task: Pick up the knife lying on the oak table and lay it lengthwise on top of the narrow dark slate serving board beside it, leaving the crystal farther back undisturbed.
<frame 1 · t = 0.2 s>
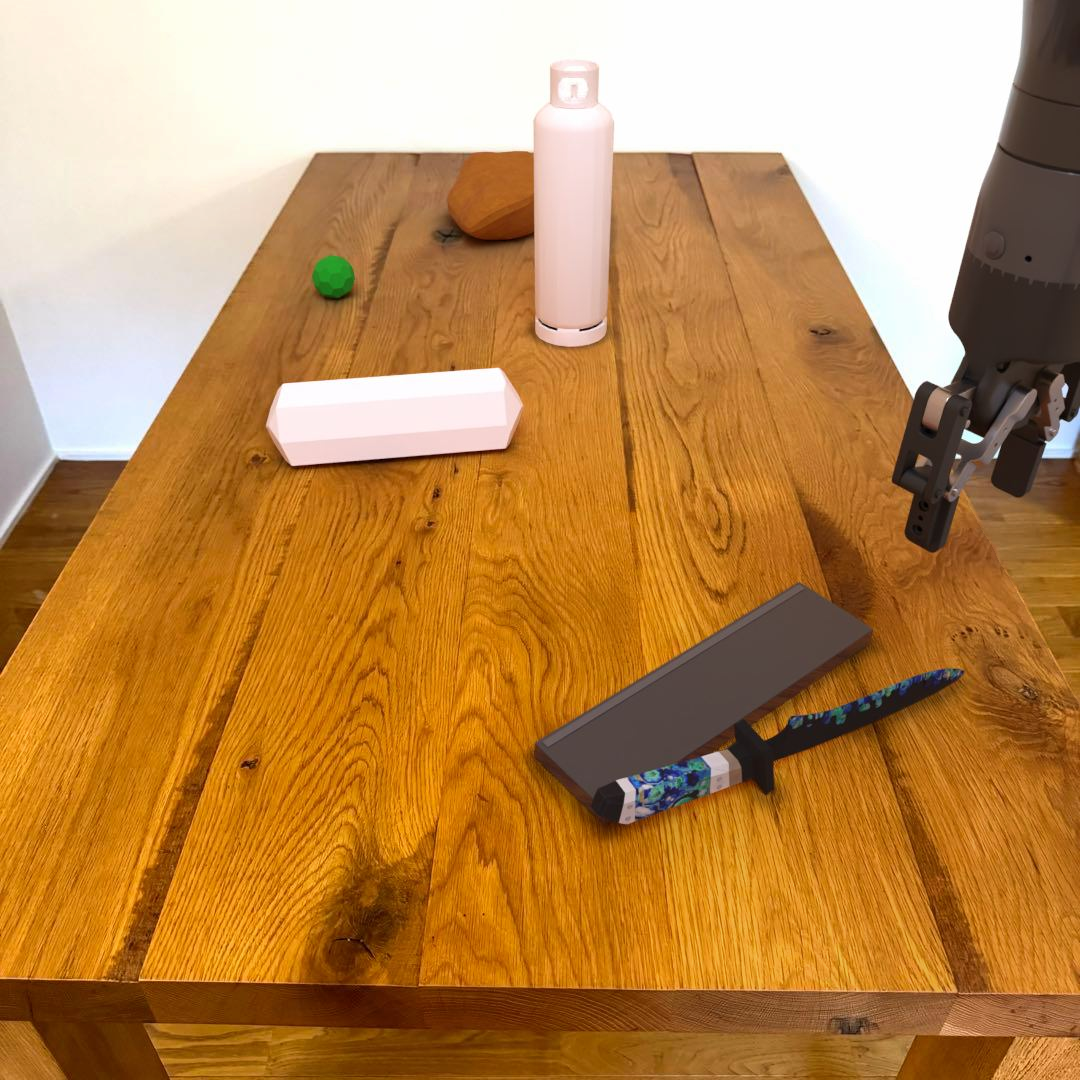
hand: (967, 515, 60), 17 cm above the table, tool pointing down, fingers open, 8 cm apart
bottle: (570, 331, 118), on the table
orange brown rock: (493, 228, 143), on the table
polyhedron: (336, 297, 126), on the table
knife: (793, 764, 68), on the table
slate board: (712, 697, 72), on the table
crystal: (399, 444, 99), on the table
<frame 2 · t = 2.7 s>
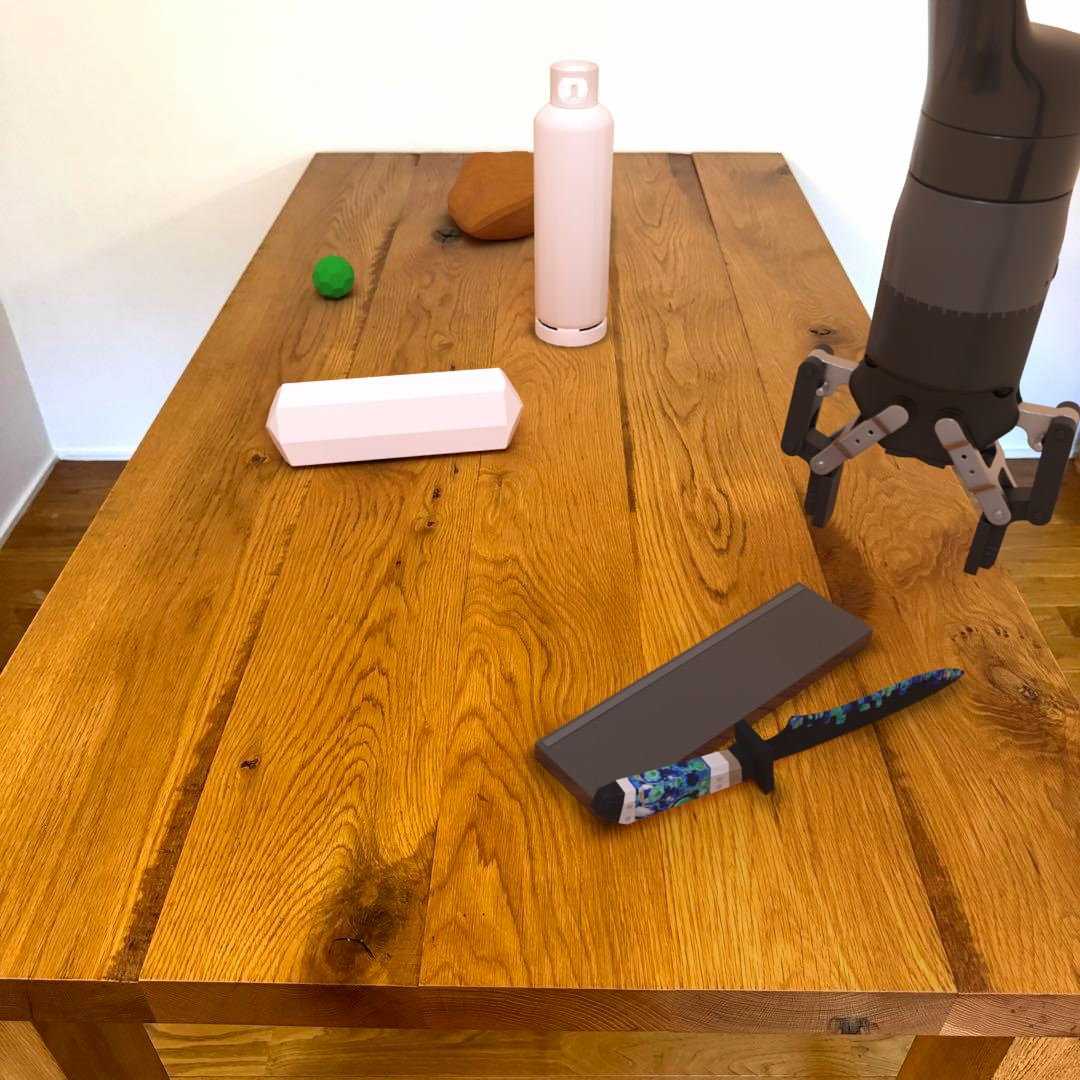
hand: (895, 543, 59), 17 cm above the table, tool pointing down, fingers open, 8 cm apart
nothing on the table moved.
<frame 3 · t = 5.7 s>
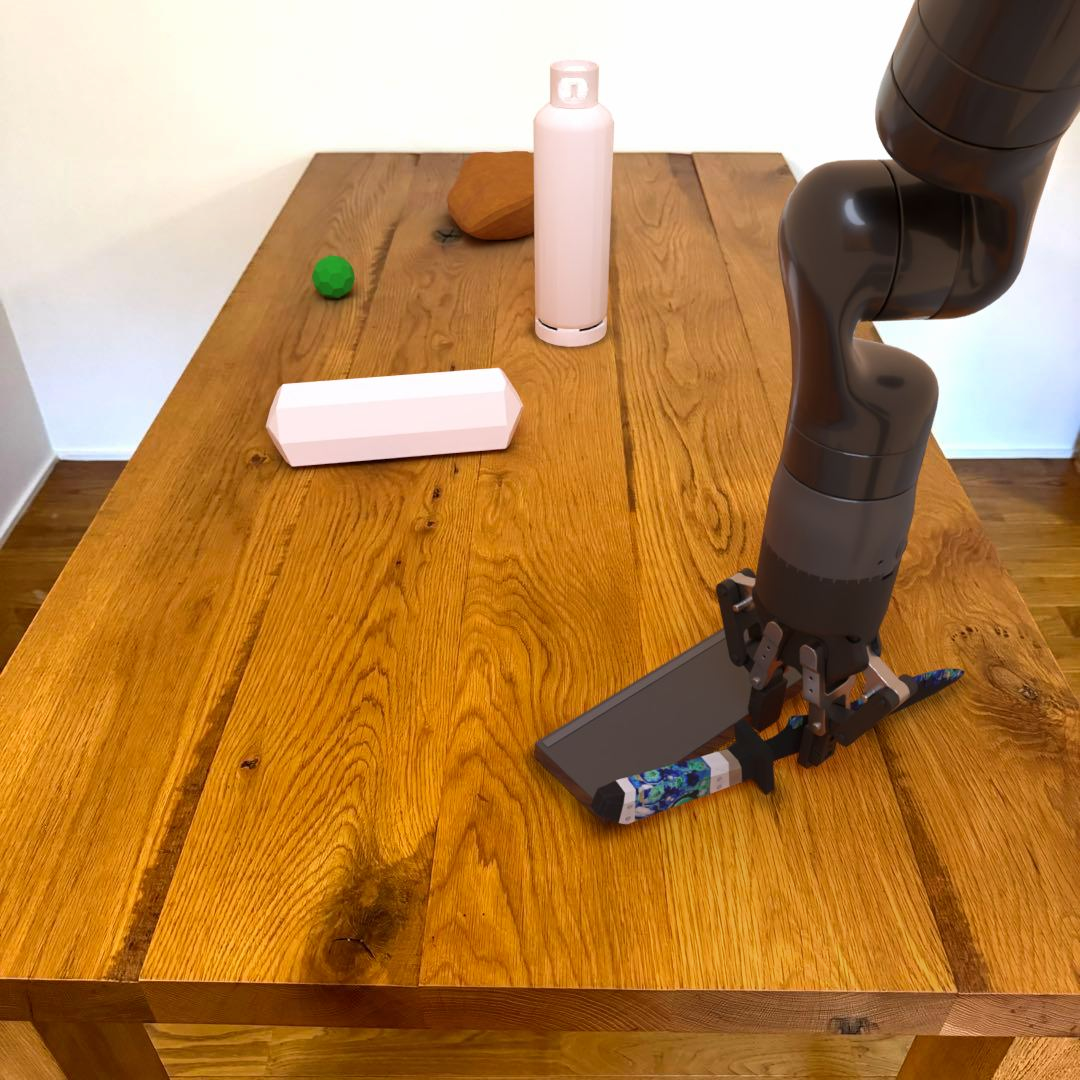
hand: (788, 741, 67), 1 cm above the table, tool pointing down, fingers open, 3 cm apart
nothing on the table moved.
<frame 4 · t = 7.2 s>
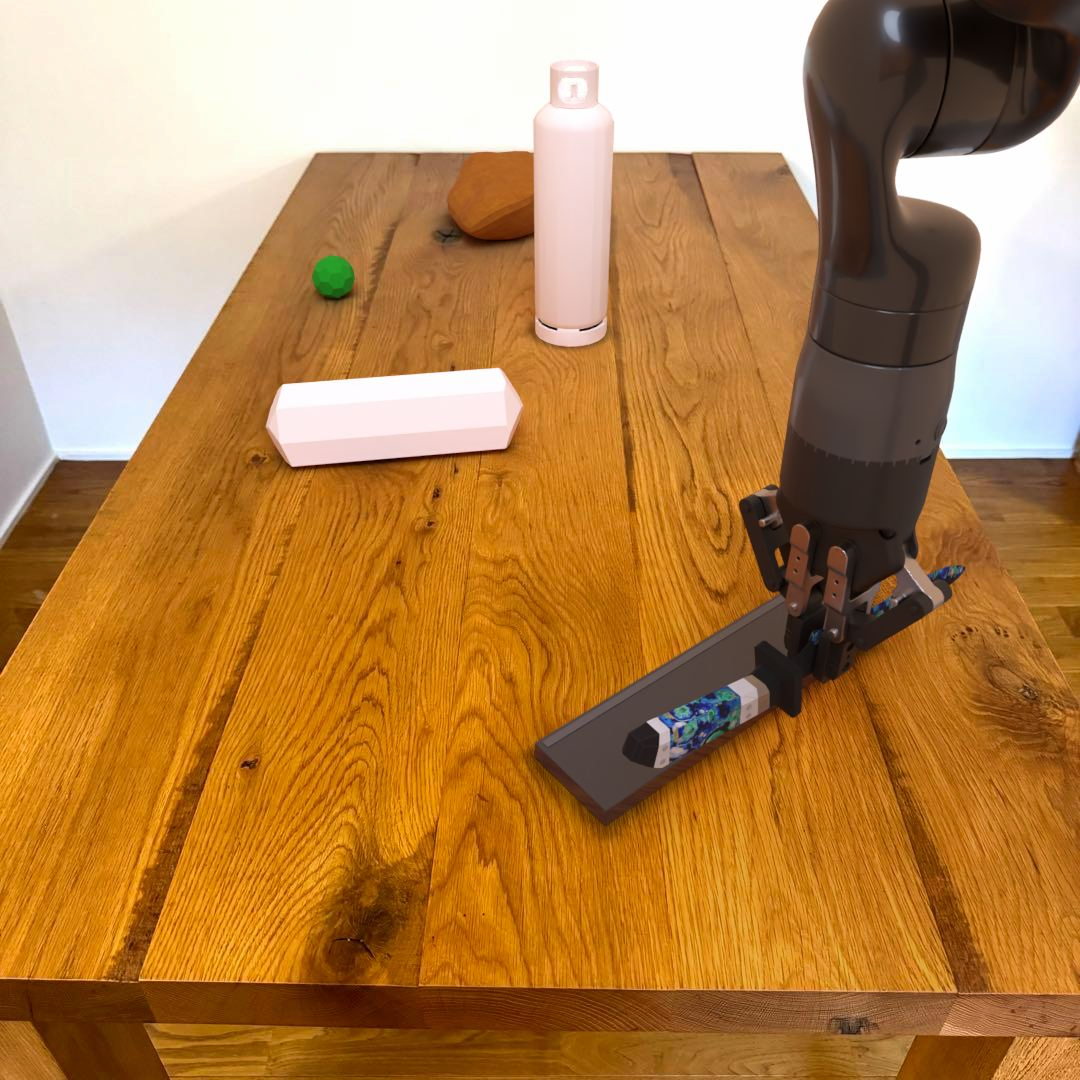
hand: (815, 665, 63), 9 cm above the table, tool pointing down, fingers closed on knife
knife: (813, 683, 64), point 7 cm above the table, touching gripper
everything else where it was.
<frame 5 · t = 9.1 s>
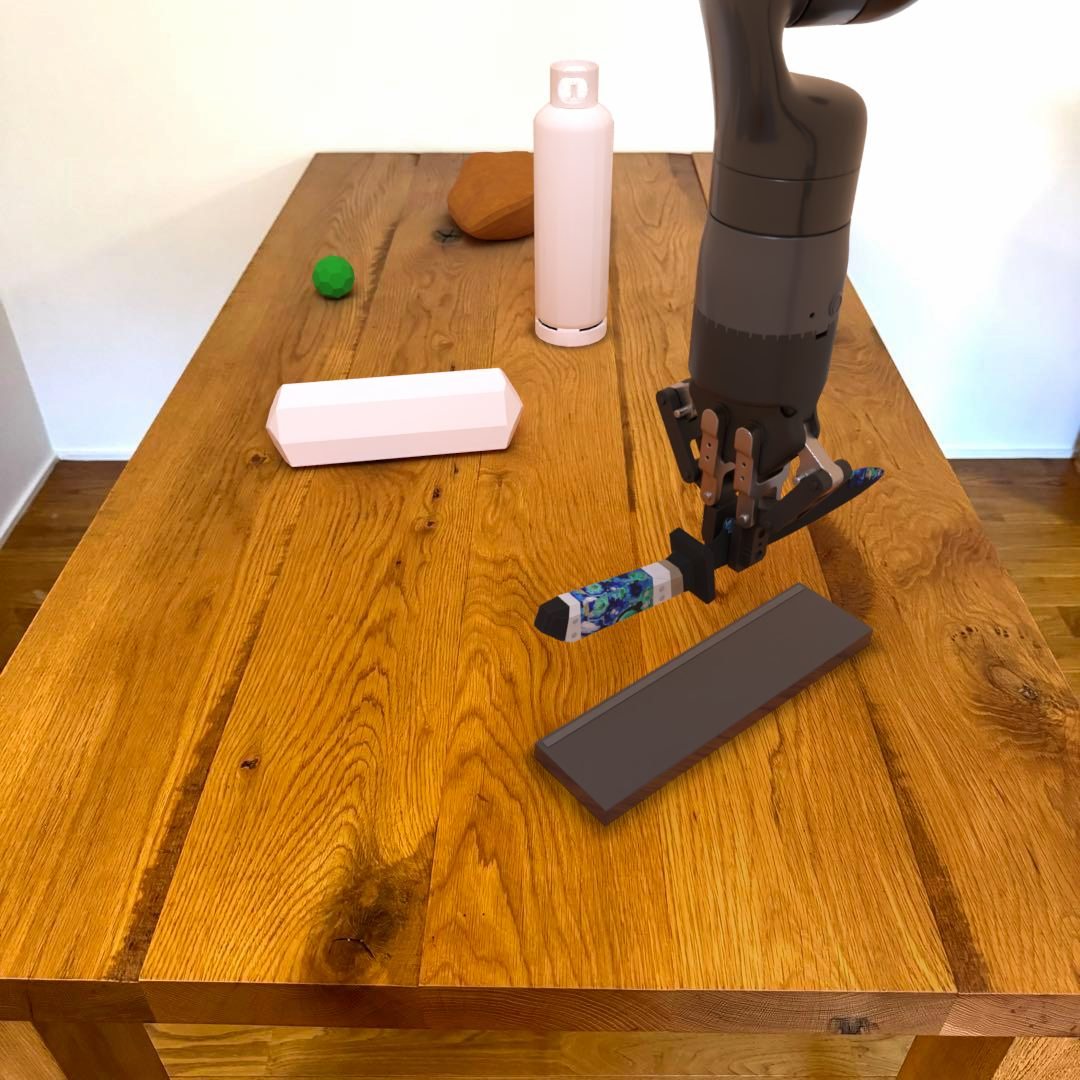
hand: (731, 557, 65), 13 cm above the table, tool pointing down, fingers closed on knife
knife: (730, 574, 65), point 11 cm above the table, touching gripper
everything else where it was.
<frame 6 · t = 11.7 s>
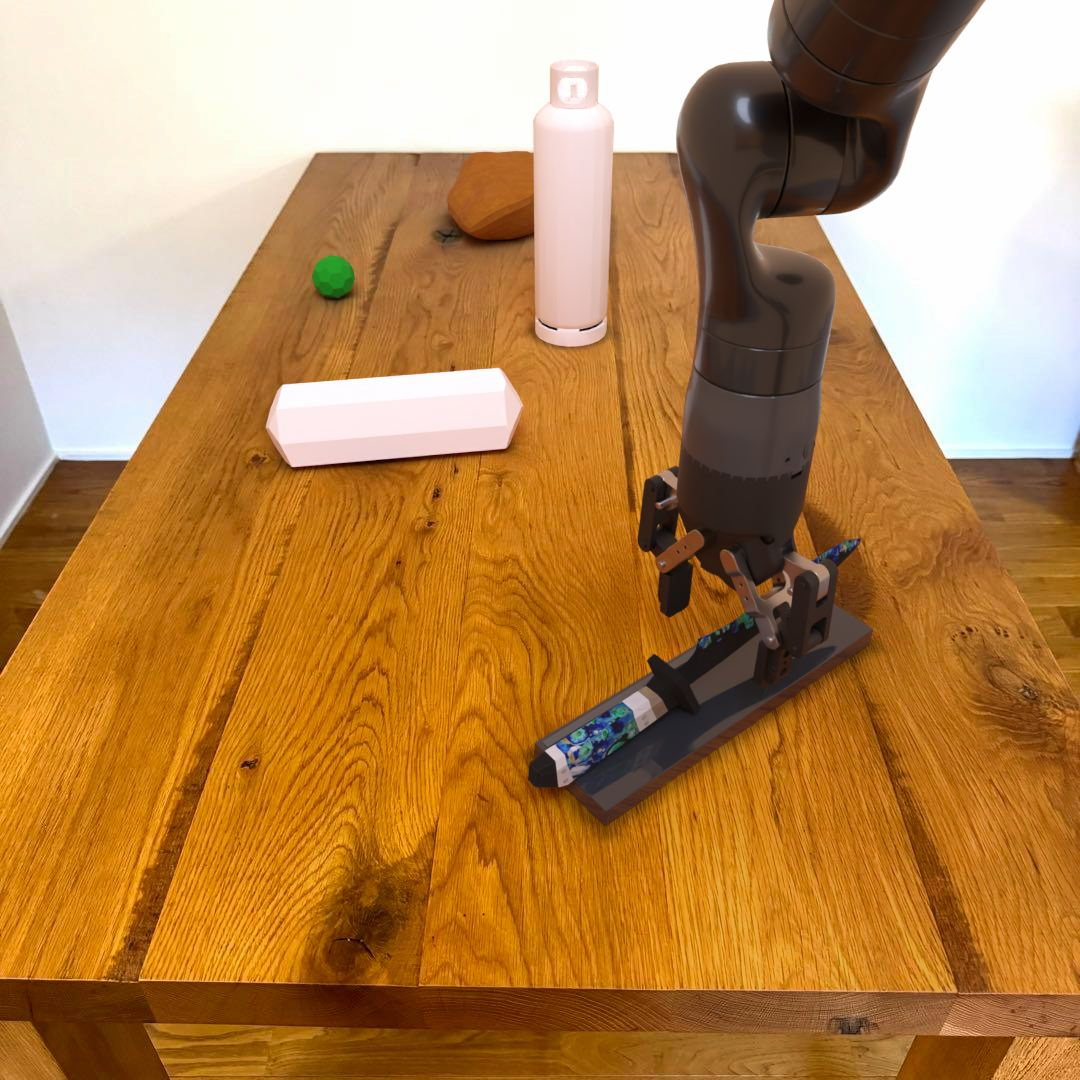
hand: (719, 643, 69), 5 cm above the table, tool pointing down, fingers open, 8 cm apart
knife: (716, 675, 71), point 2 cm above the table, touching slate board
everything else where it was.
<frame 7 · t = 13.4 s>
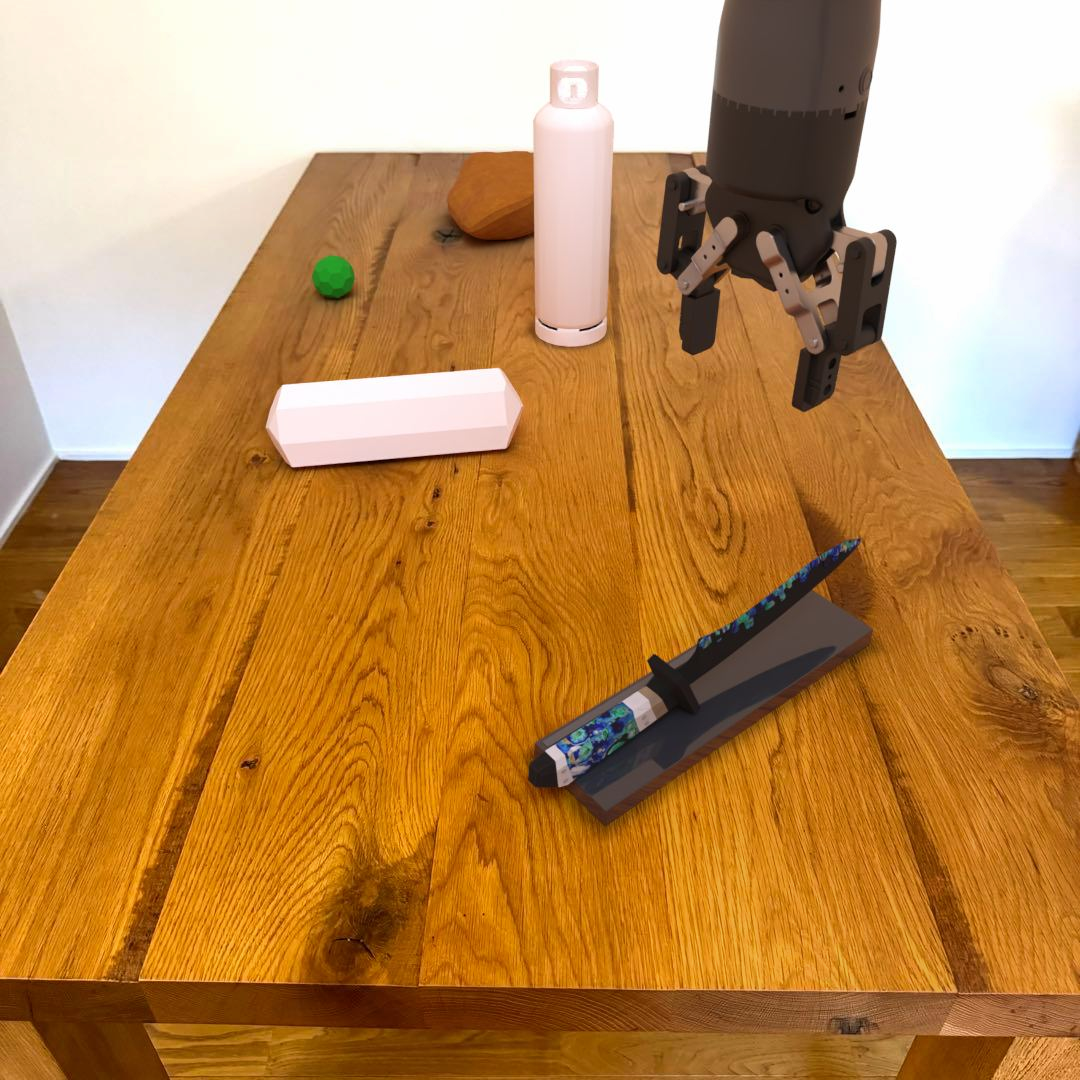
hand: (750, 376, 61), 23 cm above the table, tool pointing down, fingers open, 8 cm apart
nothing on the table moved.
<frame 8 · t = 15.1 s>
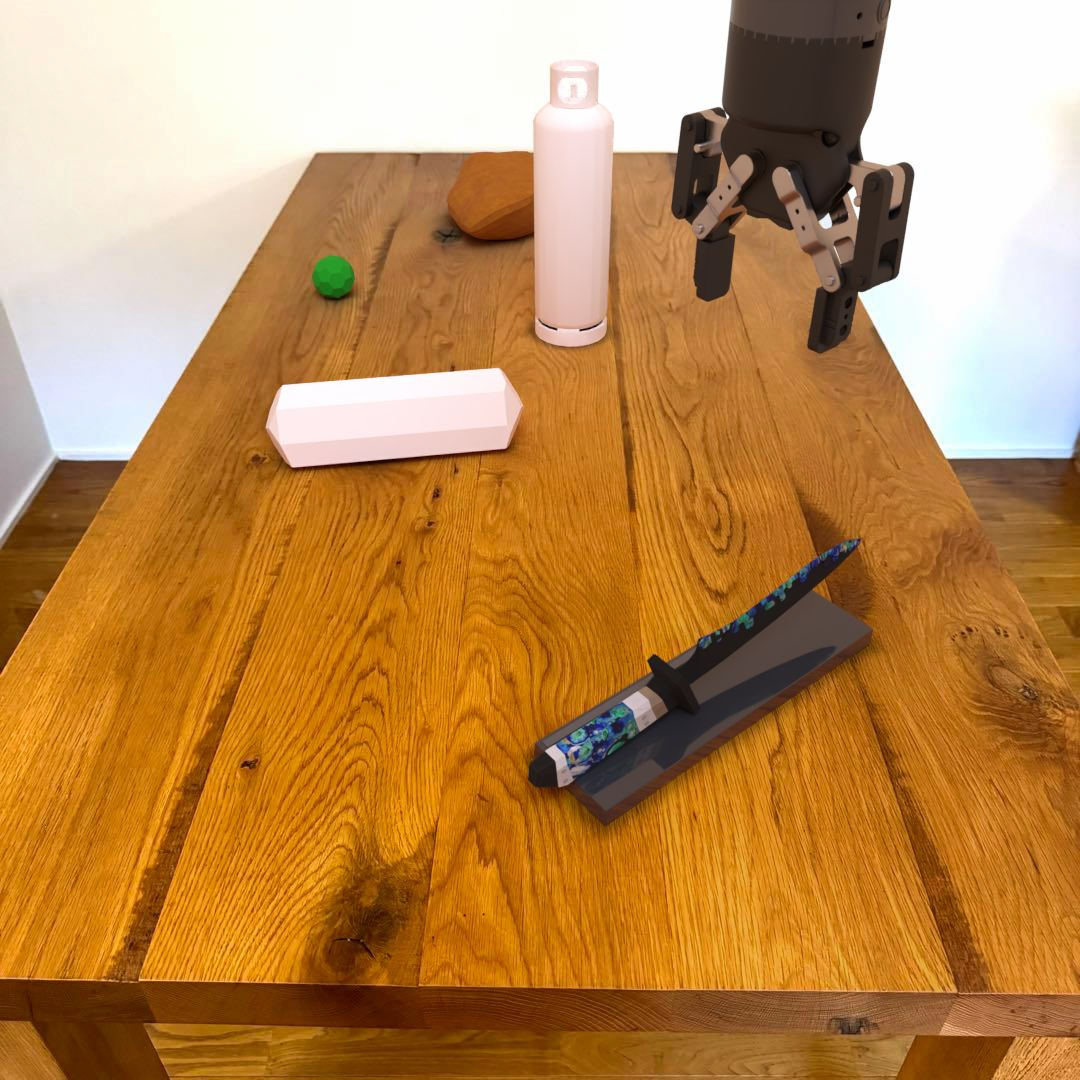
hand: (765, 321, 60), 26 cm above the table, tool pointing down, fingers open, 8 cm apart
nothing on the table moved.
at the end: knife inside the target area on the slate board (0.1 cm from its centre), point 2.3 cm above the slate board's base; the gripper is holding nothing; crystal moved 0.3 cm from its start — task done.
